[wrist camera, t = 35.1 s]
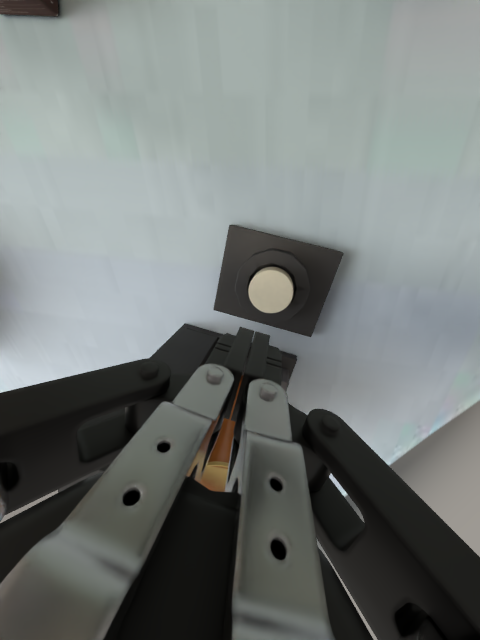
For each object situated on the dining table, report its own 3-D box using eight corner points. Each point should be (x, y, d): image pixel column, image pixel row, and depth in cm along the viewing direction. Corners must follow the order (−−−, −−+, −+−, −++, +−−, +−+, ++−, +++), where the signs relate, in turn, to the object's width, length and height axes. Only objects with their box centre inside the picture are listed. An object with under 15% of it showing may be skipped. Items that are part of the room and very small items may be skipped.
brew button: (298, 272, 22) (299, 276, 20) (285, 311, 23) (285, 318, 22) (256, 261, 22) (254, 264, 21) (246, 301, 24) (243, 306, 22)
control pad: (341, 251, 23) (348, 255, 20) (309, 332, 26) (312, 345, 24) (232, 224, 24) (224, 224, 21) (216, 306, 27) (208, 315, 25)
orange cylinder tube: (250, 361, 28) (224, 455, 17) (277, 390, 29) (271, 499, 18) (220, 382, 30) (179, 478, 19) (246, 408, 31) (223, 517, 20)
